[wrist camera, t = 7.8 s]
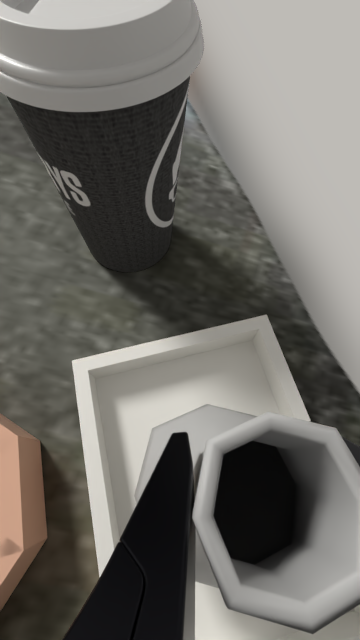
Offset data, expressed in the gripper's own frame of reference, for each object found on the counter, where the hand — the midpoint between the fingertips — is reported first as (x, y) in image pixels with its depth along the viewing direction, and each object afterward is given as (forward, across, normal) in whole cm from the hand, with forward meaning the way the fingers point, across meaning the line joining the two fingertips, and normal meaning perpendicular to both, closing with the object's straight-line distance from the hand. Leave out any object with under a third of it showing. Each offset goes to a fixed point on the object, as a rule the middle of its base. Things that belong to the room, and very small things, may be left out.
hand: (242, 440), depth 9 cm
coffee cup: (+20, +4, -4) cm, 20 cm away
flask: (+4, 0, +6) cm, 7 cm away
